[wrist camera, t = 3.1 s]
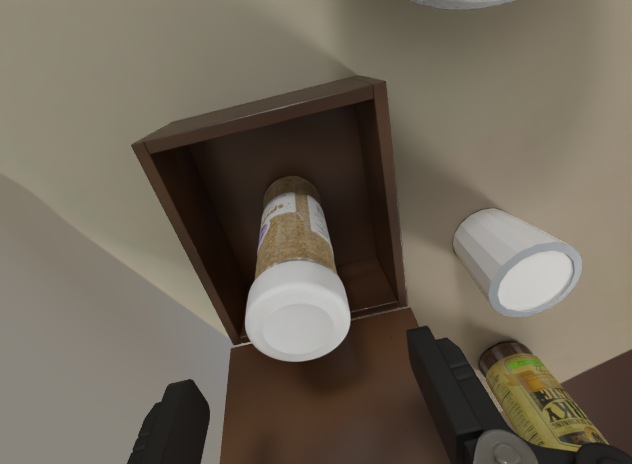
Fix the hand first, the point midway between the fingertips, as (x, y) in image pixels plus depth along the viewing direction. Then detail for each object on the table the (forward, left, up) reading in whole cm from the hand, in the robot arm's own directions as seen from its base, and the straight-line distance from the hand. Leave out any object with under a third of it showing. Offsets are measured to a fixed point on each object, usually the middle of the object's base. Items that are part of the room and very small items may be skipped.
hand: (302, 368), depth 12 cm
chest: (0, 0, -16) cm, 16 cm away
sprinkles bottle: (0, 0, -16) cm, 16 cm away
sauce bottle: (+26, +19, -16) cm, 36 cm away
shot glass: (+8, +16, -16) cm, 24 cm away
